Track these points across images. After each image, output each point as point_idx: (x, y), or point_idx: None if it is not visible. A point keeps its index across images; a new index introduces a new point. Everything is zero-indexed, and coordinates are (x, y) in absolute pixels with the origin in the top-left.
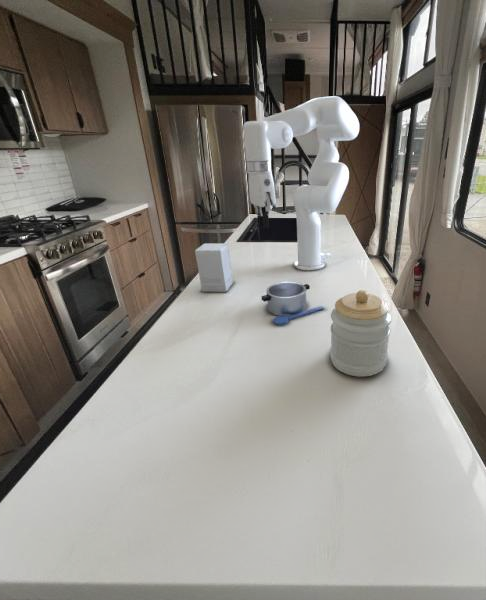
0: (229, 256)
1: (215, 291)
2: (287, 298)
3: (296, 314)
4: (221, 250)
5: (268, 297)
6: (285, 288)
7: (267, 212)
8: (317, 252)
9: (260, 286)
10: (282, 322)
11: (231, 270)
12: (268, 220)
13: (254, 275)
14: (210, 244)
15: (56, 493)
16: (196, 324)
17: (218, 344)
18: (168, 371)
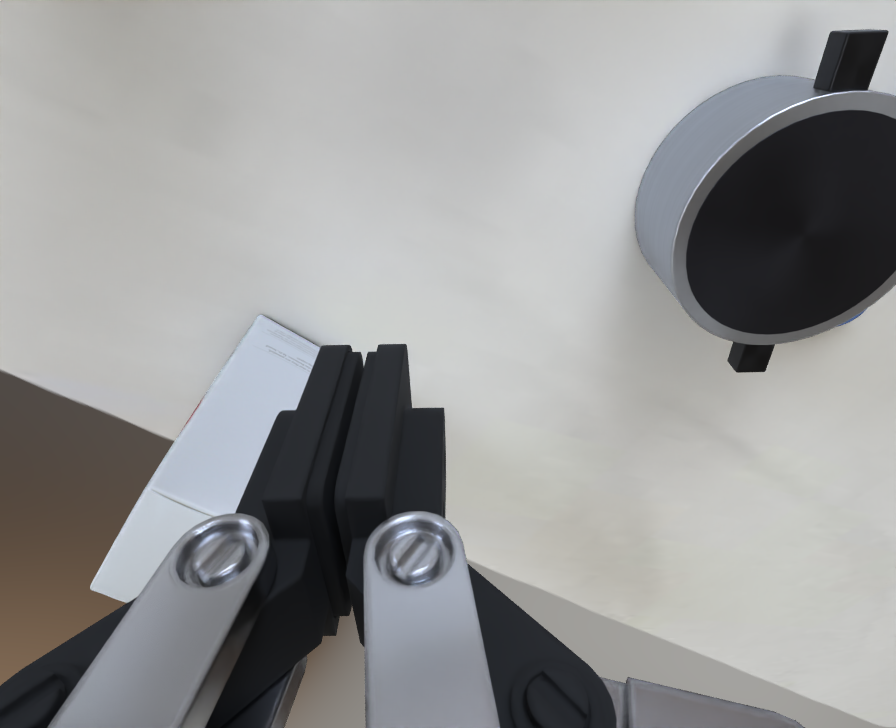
0: (207, 421)
1: None
2: (892, 282)
3: None
4: None
5: (771, 346)
6: (790, 233)
7: (532, 641)
8: None
9: (391, 202)
10: None
11: (242, 359)
12: (397, 418)
13: (179, 157)
14: (146, 576)
15: (891, 693)
16: (589, 517)
17: (759, 500)
18: (763, 593)
